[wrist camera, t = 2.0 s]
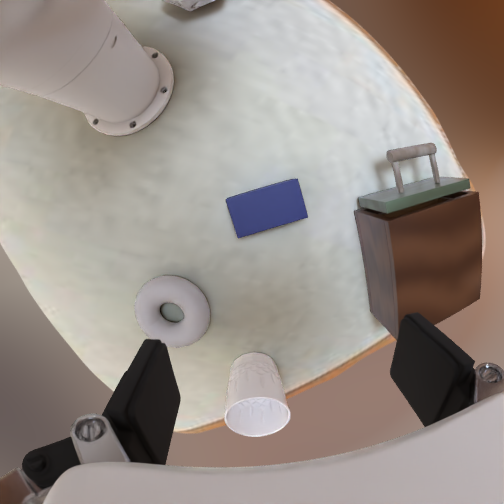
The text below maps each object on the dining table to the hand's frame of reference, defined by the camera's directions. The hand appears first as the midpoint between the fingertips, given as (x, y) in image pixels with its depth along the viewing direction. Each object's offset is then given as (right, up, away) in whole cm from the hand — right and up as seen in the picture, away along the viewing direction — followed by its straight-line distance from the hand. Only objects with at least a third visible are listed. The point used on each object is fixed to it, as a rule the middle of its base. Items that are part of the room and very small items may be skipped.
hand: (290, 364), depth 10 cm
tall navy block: (0, +10, +22) cm, 24 cm away
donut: (-12, -3, +25) cm, 28 cm away
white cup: (-1, -13, +28) cm, 31 cm away
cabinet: (+20, +5, +25) cm, 32 cm away
